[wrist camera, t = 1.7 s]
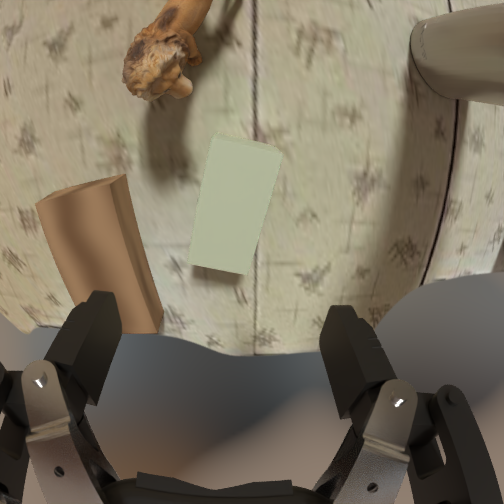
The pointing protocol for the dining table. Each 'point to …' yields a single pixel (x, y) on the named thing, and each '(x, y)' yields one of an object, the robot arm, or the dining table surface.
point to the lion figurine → (165, 51)
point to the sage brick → (233, 202)
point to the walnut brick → (102, 249)
